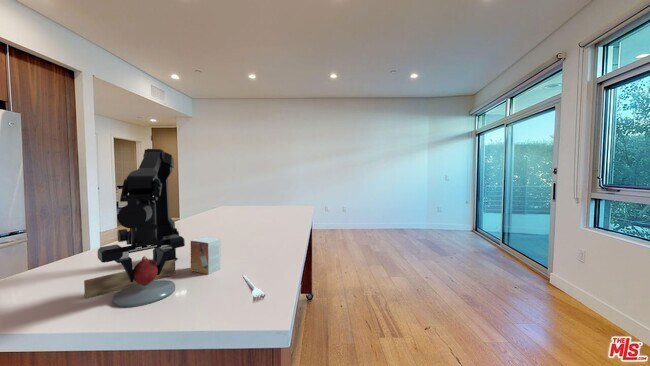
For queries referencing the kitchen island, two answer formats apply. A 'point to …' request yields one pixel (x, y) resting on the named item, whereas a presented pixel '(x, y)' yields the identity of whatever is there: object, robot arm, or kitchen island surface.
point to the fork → (254, 288)
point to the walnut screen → (120, 281)
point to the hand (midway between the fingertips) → (145, 278)
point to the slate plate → (143, 293)
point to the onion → (145, 271)
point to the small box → (205, 255)
